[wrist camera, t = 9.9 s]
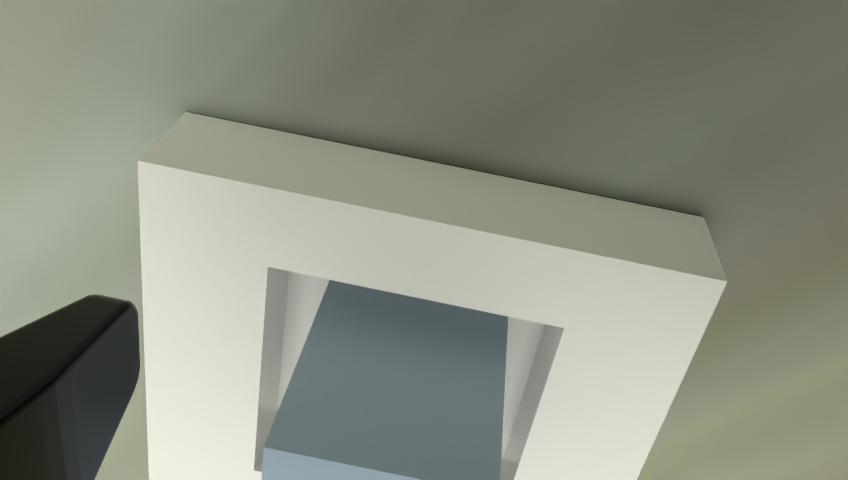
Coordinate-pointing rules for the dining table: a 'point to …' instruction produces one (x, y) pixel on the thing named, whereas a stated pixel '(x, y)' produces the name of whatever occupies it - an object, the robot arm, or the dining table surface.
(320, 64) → the dining table surface
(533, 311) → the well
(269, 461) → the block
